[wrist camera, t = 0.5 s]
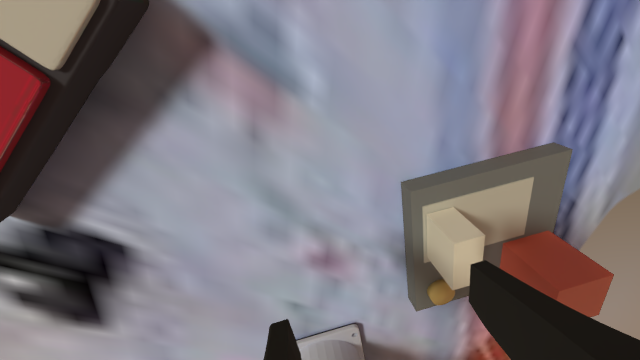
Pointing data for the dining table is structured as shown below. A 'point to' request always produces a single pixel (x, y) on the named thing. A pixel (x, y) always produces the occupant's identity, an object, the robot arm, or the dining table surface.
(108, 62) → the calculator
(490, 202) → the panel
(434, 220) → the switch handle
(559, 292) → the block
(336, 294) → the dining table surface
